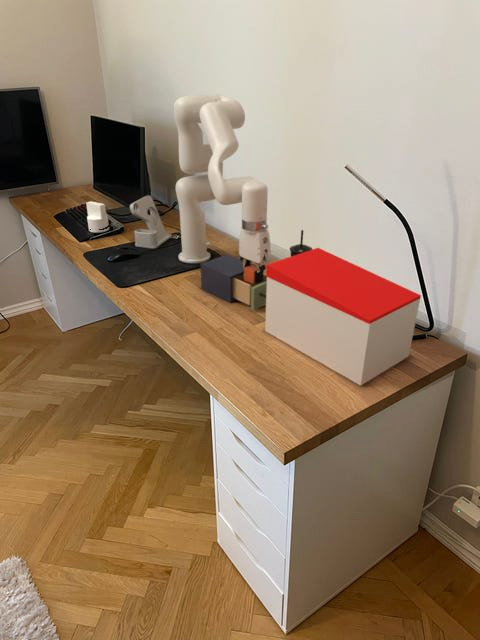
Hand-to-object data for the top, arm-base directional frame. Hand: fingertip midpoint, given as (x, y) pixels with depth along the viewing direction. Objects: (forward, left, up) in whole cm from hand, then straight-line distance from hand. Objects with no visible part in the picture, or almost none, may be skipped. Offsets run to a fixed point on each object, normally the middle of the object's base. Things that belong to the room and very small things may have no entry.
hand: (253, 279), depth 156 cm
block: (0, 0, 0) cm, 0 cm away
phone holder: (-33, -63, -8) cm, 71 cm away
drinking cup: (-18, +9, -8) cm, 22 cm away
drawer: (+1, +2, -7) cm, 7 cm away
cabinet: (-4, -11, -8) cm, 14 cm away
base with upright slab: (-35, -94, -8) cm, 101 cm away
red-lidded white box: (+14, +31, -8) cm, 35 cm away
